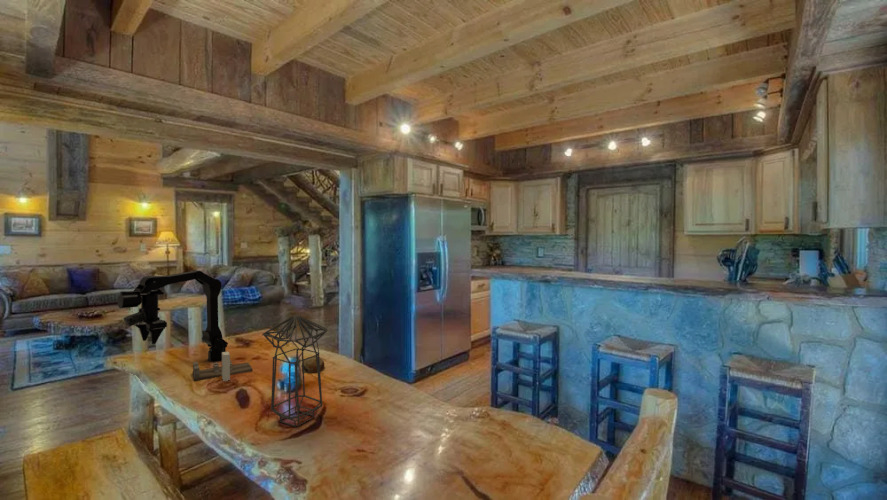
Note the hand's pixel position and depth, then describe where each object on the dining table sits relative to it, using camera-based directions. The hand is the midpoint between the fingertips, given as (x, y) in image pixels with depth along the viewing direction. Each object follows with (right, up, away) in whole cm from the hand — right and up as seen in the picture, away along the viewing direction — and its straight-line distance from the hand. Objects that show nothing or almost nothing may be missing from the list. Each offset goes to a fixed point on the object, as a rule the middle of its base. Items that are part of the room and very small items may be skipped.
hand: (149, 342), depth 165 cm
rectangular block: (+34, -15, -2) cm, 37 cm away
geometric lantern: (+77, -17, -38) cm, 87 cm away
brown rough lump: (+66, -16, +12) cm, 69 cm away
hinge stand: (+28, -15, +6) cm, 32 cm away
